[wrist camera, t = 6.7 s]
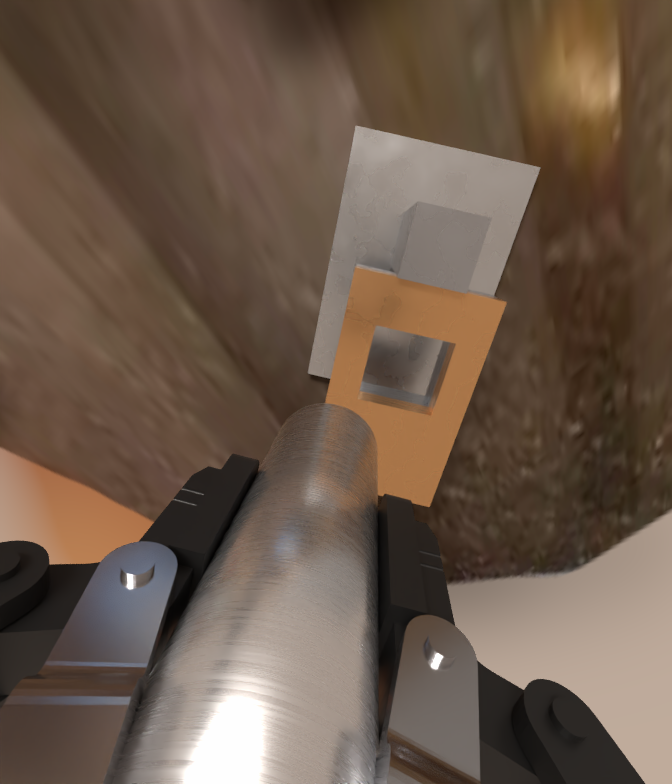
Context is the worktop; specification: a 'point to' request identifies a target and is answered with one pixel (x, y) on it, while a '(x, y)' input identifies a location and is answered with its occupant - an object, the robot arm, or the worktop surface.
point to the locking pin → (278, 628)
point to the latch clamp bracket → (415, 295)
